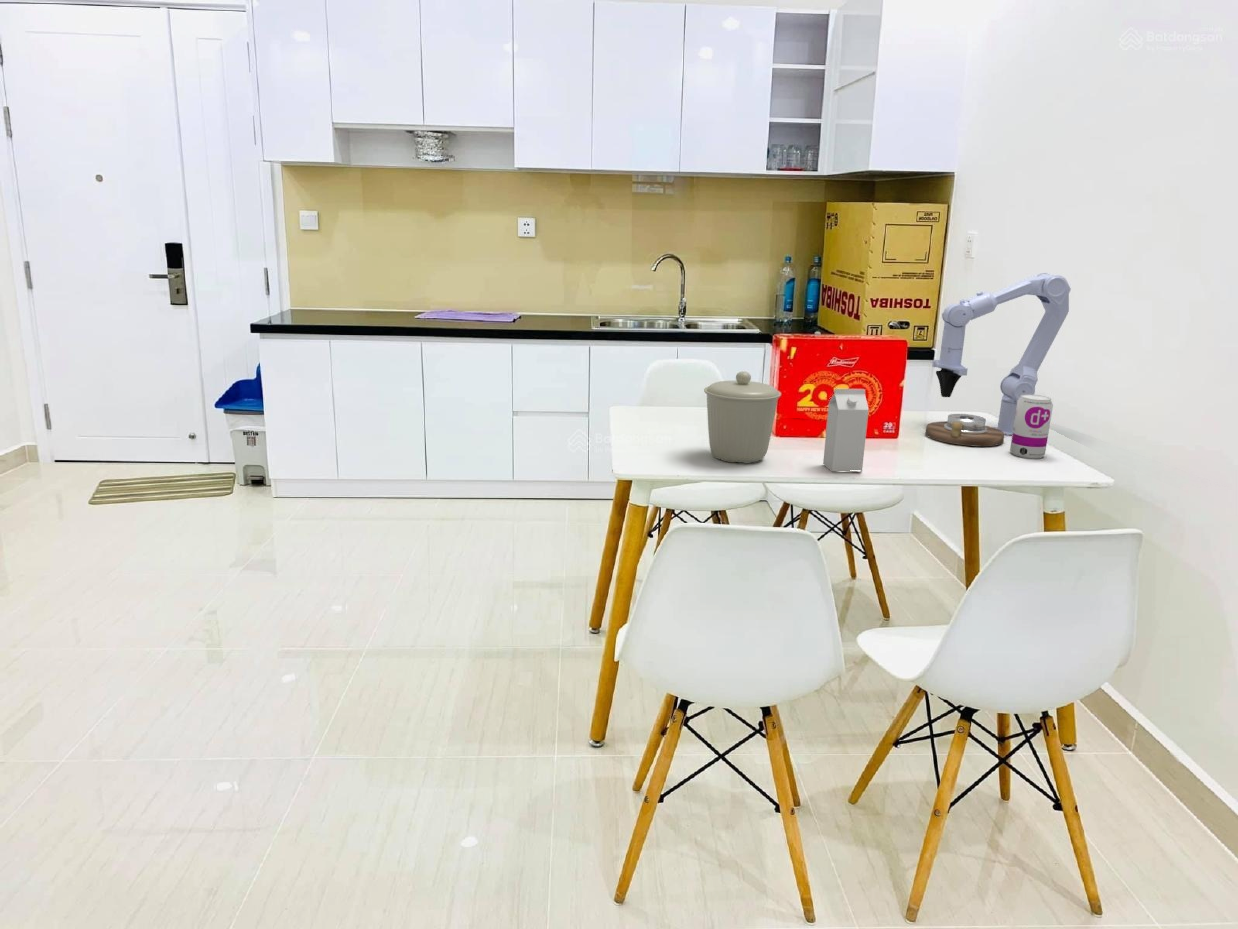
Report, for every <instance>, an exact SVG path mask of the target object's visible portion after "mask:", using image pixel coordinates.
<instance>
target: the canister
mask: <svg viewBox="0 0 1238 929" xmlns="http://www.w3.org/2000/svg"><path fill="white" fill-rule="evenodd" d="M751 379H752V375H751V374H750V373H749V372H747V371H739V372H738V373H737V374H736V375H735V380H723V381H716V382H714V383H711V384H710V385H709V386H706V387H704V388H703V390H704V393H705V394H706V410H707V428H708V429H707V430H708V441H709V442H708V444H709V449H710V452H711V455H713V457H714V458H716V459H718V460H720V459H721V461H723V460H724V462H727V461H729V463H733V462H752V463H756V461H757V462H759V460H760V461H762V460H763V459H764V457H766V455H767V452H768V450H769V446H770V441H771V436H772V433H773V432H772V431H773V428H774V427H773V426H774V420H775V416H776V411H777V407H778V406H777V405H778V400H779V398H780V397H782V392H781V391H780V390H777V388H775V387H774V386H772V385H770V384H768V383H763V382H760V381H759V382H758V381H753V380H751Z"/></svg>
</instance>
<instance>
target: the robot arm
mask: <svg viewBox="0 0 1238 929" xmlns="http://www.w3.org/2000/svg"><path fill="white" fill-rule="evenodd" d="M1071 289H1072V288H1071V286H1070V285H1069V282H1068V281H1067V279H1066V277H1064V276H1062V275H1060V274H1050V273H1047V272H1042V273H1039V274H1037V275H1033V276H1030V277H1027V278H1024V279H1023V280H1020V281H1018V282H1016V283H1014V284H1013V283H1012V284H1011V285H1009V286H1007V287H1005V288H1003V289H1000V290H998V291H995V292H994V293H990V292H989V291H978V292H976V295H974V296H972V297H970V298H967V299H960V300H959V304H958V303H951V304H949V305H947V306H946V308H944V309H943V312H942V313H941V318H942V320H943V322H944V323H943V331H942V337H941V338H942V339H941V346H940V352H939V359H933V360H932V366H931V367H932V368H938V369H940V370H936V371H935V374H936V376H937V379H938V383H939V387H940V388H939V389H940V396H941V397H943V398H951V396H952V394H953V392H954V390H955V387H956V385H957V383H958V381H959V380H960V379H961V378H962V376H967V375H968V367H965V366H964V365H962V361H963V360H962V357H963V350H964V344H965V335H966V327H967V325H968V324H969V322H970V321H973V320H975V319H978V318H980V317H983V316H985V315H988V314H990V313H993V312H994V311H995V310H996V308H997V307H998V305H1000V304H1001V305H1002V304H1003V303H1006V302H1009V301H1012V300H1015V299H1018V298H1020V297H1023V296H1026V295H1028V296H1029V295H1030V296H1036V297H1037V299H1039V300H1040V301H1041V304H1042V307H1043V309H1044V311H1045V312H1044V314H1043V316H1042V318H1041V320H1039V321H1040V322H1039V324H1038V326H1037V327H1036V329H1035V331H1034V333H1033V335H1032V336H1031V339H1030V341H1029V342H1028V344H1027V347H1026V348H1025V350H1024V352H1023V354H1022V356H1021V358H1020V359H1019V361H1018V364H1016V365H1015V366H1014V367H1012V368H1011V370H1010V372H1009V373H1008V374H1007V375H1006V376H1005V377H1004V378H1003V379H1002V380H1001V382H1000V384H999V386H1000V387H999V388H1000V391H1001V393H1002V397H1001V401H1000V408H999V414H998V422H997V426H992V427H993V428H996V429H999V430H1001V431H1003V432H1004V436H1012V434H1013V427H1014V420H1015V414H1016V407H1017V401H1018V400H1019V398H1020V397H1021V395H1025V394H1031V395H1035V393H1036V392H1035V391H1036V385H1037V383H1038V380H1039V379H1038V377H1039V376H1038V371H1039V369H1040V368H1041V366H1042V363H1043V362H1044V360H1045V358H1046V356H1047V354H1048V352H1049V350H1050V348H1051V346H1052V345H1053V343H1054V341H1055V339H1056V337H1057V336H1058V333H1059V331H1060V329H1061V327H1062V326H1063V324H1064V322H1065V320H1066V318H1067V316H1068V314H1069V312H1070V311H1069V310H1070V295H1069V294H1070V292H1071Z"/></svg>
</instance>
